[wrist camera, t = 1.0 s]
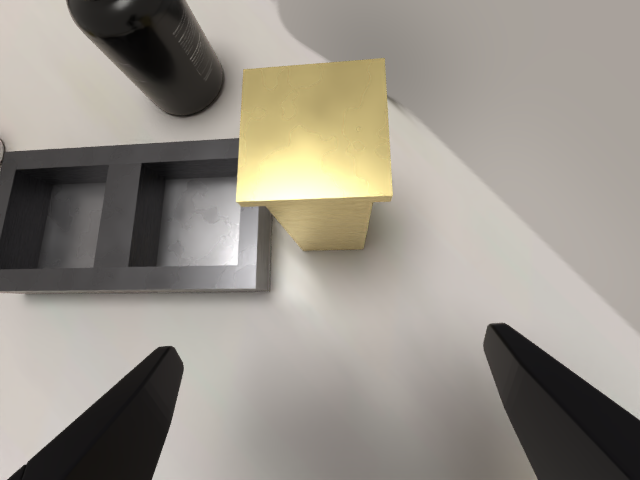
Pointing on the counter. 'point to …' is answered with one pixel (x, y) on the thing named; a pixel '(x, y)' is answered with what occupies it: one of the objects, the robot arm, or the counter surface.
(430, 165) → the counter surface
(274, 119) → the brass block
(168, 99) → the supplement bottle
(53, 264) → the compartment tray
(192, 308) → the counter surface
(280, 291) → the counter surface
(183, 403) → the counter surface
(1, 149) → the supplement bottle
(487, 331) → the robot arm
